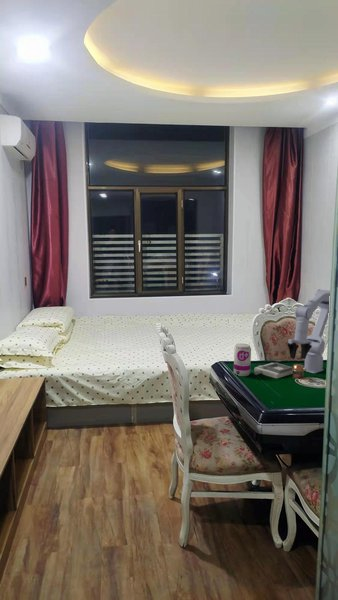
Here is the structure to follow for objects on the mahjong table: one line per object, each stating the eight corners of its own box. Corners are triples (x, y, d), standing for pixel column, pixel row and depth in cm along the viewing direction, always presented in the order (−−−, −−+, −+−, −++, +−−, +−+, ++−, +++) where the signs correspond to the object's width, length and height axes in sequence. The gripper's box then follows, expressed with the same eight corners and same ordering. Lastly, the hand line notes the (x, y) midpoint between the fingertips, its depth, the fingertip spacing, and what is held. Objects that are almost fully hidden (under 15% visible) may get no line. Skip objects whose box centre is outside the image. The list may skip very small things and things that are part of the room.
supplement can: (249, 377, 209) (251, 347, 207) (233, 376, 211) (234, 346, 209) (250, 372, 217) (251, 343, 215) (233, 371, 219) (235, 342, 217)
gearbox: (272, 366, 228) (272, 360, 228) (294, 372, 217) (295, 366, 217) (249, 372, 216) (249, 366, 216) (271, 380, 205) (271, 373, 205)
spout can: (296, 374, 214) (297, 363, 213) (307, 378, 209) (308, 366, 208) (290, 376, 211) (291, 365, 210) (301, 380, 206) (302, 368, 205)
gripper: (297, 331, 201) (293, 360, 202) (317, 333, 209) (314, 360, 209) (286, 329, 207) (282, 356, 208) (306, 330, 215) (303, 357, 215)
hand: (297, 358), depth 209 cm, fingers open, 7 cm apart
